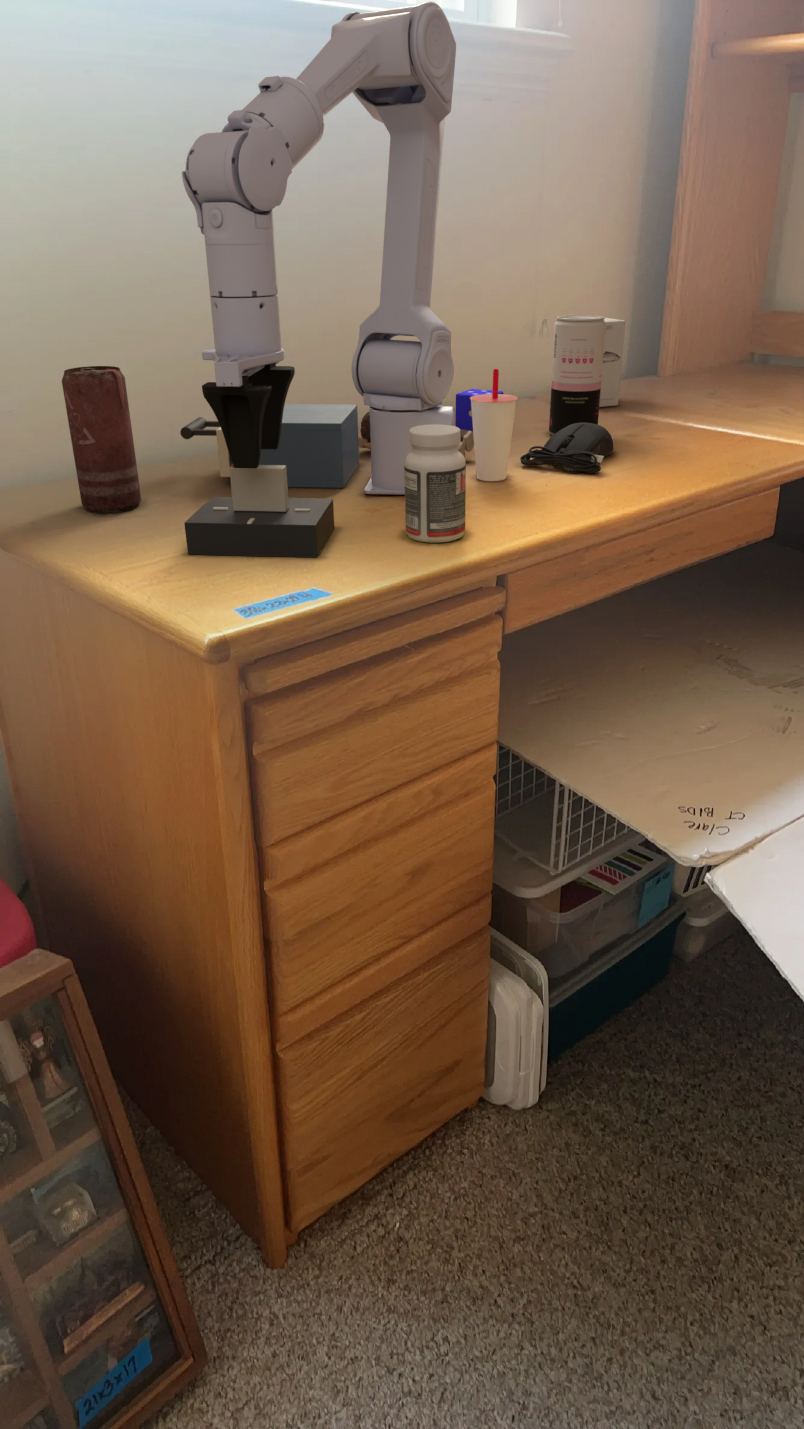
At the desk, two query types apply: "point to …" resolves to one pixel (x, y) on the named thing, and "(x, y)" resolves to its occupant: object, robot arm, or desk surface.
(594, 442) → the computer mouse
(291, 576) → the desk surface
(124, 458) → the can
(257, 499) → the grey block
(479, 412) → the cup
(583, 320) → the beverage can
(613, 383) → the white packaging box
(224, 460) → the drawer
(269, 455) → the compartment
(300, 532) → the control panel
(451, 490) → the pill bottle
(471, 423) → the die
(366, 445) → the figurine
